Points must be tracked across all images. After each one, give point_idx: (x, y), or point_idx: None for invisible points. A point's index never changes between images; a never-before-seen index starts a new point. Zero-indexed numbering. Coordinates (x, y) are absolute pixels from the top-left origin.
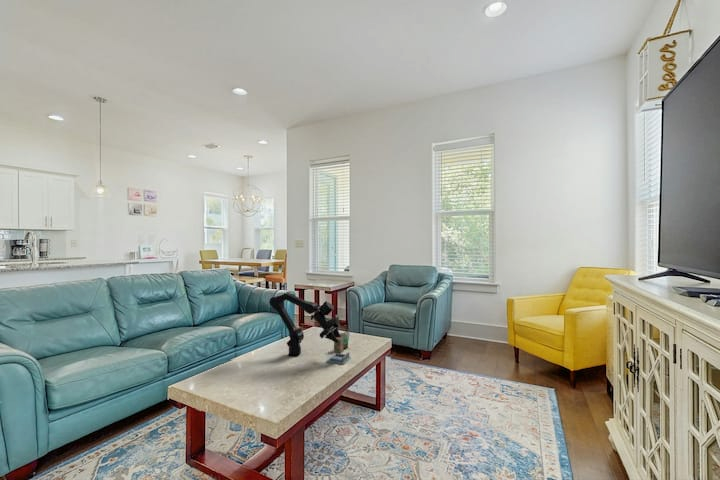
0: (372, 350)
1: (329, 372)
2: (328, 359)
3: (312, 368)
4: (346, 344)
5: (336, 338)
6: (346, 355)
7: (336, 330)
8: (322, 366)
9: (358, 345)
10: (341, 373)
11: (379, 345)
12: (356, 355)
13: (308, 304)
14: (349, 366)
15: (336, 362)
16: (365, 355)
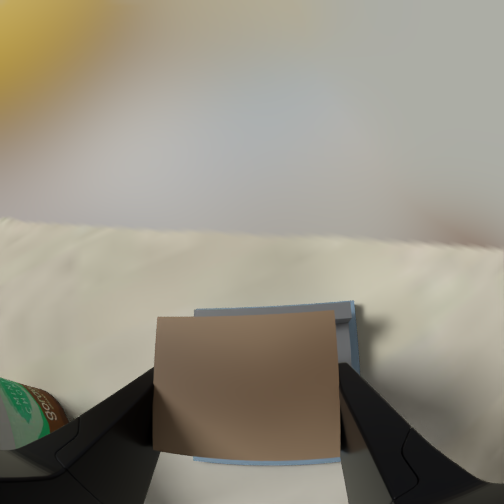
0: (60, 232)
1: (499, 324)
2: (326, 459)
3: (486, 459)
4: (29, 390)
5: (267, 432)
6: (269, 307)
7: (53, 494)
8: (444, 430)
9: (5, 332)
10: (476, 251)
11: (11, 230)
12: (141, 290)
13: None
14: (366, 253)
15: (359, 368)
16: (133, 236)
